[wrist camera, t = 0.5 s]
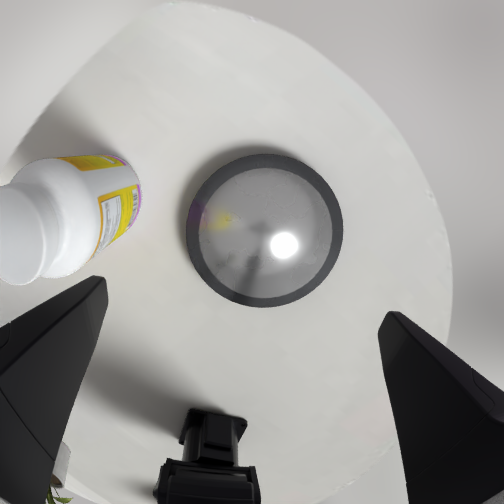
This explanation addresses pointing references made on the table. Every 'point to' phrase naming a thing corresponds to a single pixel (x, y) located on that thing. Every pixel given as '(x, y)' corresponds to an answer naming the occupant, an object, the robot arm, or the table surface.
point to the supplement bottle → (64, 214)
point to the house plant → (59, 474)
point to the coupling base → (264, 230)
